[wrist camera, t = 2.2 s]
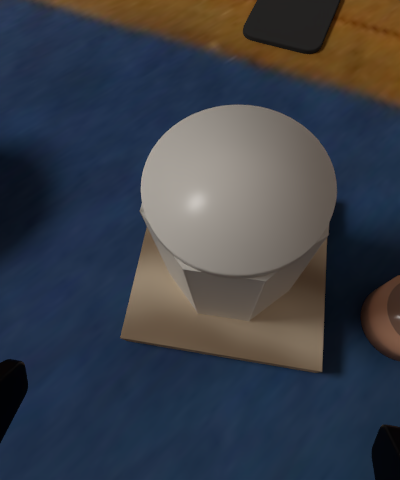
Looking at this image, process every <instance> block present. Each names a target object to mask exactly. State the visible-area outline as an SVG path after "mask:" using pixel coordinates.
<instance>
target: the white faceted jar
mask: <svg viewBox="0 0 400 480" xmlns="http://www.w3.org/2000/svg"><path fill="white" fill-rule="evenodd" d="M336 195H337V185H336V177H335V172H334V168H333V165H332V163H331V160H330V158H329V156H328V154H327V152H326V150H325V149H324V147H323V146H322V145H321V143H320V142H319V140H318V139H317V138H316V137H315V136H314V135H313V134H312V133H311V132H310V131H309V130H308V129H306V128H305V127H304V126H303V125H301V124H300V123H298V122H297V121H295V120H294V119H292V118H290V117H288V116H286V115H284V114H282V113H279V112H276V111H274V110H271V109H267V108H263V107H258V106H251V105H225V106H219V107H213V108H210V109H206V110H203V111H200V112H198V113H195V114H193V115H191V116H189V117H187V118H185V119H183V120H181V121H180V122H179V123H177V124H176V125H174V126H173V127H172V128H171V129H169V130H168V131H167V132H166V133H165V134H164V135H163V136H162V137H161V138H160V139H159V141H158V142H157V143H156V145H155V146H154V148H153V149H152V150H151V152H150V154H149V156H148V158H147V161H146V163H145V166H144V169H143V174H142V179H141V198H142V205H141V209H140V213H141V215H142V217H143V219H144V221H145V223H146V225H147V227H148V230H149V232H150V234H151V236H152V238H153V240H154V242H155V244H156V247H157V249H158V251H159V253H160V255H161V257H162V259H163V261H164V263H165V266H166V268H167V270H168V272H169V274H170V275H171V276H172V278H173V279H174V281H175V282H176V283H177V285H178V286H179V288H180V289H181V290H182V292H183V293H184V295H185V296H186V297H187V299H188V300H189V302H190V303H191V304H192V306H193V307H194V309H195V310H196V311H197V313H200V314H206V315H212V316H219V317H225V318H232V319H238V320H244V321H250V320H251V319H252V318H254V317H255V316H256V315H258V314H259V313H260V312H262V311H263V310H264V309H266V308H267V307H268V306H270V305H271V304H272V303H274V302H275V301H276V300H278V299H279V298H280V297H281V296H283V295H284V294H285V293H287V292H288V291H289V290H290V289H291V287H292V286H293V285H294V283H295V282H296V280H297V279H298V278H299V276H300V275H301V273H302V272H303V271H304V269H305V268H306V266H307V265H308V264H309V262H310V261H311V259H312V258H313V256H314V255H315V254H316V252H317V251H318V249H319V248H320V247H321V245H322V244H323V242H324V241H325V240H326V238H327V237H328V235H329V222H330V219H331V217H332V215H333V211H334V208H335V204H336Z"/></svg>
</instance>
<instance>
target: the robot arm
mask: <svg viewBox="0 0 400 480" xmlns="http://www.w3.org/2000/svg"><path fill="white" fill-rule="evenodd" d="M27 389H28V381H27V375H26V369H25V364H24V363H23V362H22V361H18V360H12V359H8V360H5V361H3V362H1V363H0V443H1V441H2V439H3V437H4V435H5V433H6V431H7V429H8V427H9V426H10V424H11V422H12V420H13V418H14V416H15V414H16V412H17V410H18V408H19V406H20V404H21V403H22V401H23V399H24V397H25V395H26V392H27ZM372 462H373V468H374V474H375V480H400V427H397V426H391V425H382V426H381V427H380V429H379V431H378V434H377V436H376V439H375V442H374V444H373V447H372Z"/></svg>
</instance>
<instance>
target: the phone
mask: <svg viewBox="0 0 400 480" xmlns="http://www.w3.org/2000/svg"><path fill="white" fill-rule="evenodd" d="M339 3H340V0H257V2H256V4H255V6H254V8H253V9H252V11H251V13H250V15H249V17H248V19H247V21H246V23H245V25H244V28H243V34H244V36H245V37H246V38H247V39H249V40H252V41H256V42H259V43H263V44H267V45H271V46H275V47H279V48H283V49H287V50H291V51H296V52H300V53H304V54H313V53H316V52H317V51H318V50H319V49H320V48H321V46H322V44H323V41H324V39H325V36H326V34H327V32H328V29H329V27H330V24H331V22H332V20H333V17H334V15H335V12H336V10H337V8H338V5H339Z"/></svg>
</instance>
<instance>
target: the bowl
mask: <svg viewBox="0 0 400 480" xmlns="http://www.w3.org/2000/svg"><path fill="white" fill-rule="evenodd" d="M361 324H362V328H363V331H364V333H365V335H366V337H367V339H368V340H369V342H370V343H371V344H372V345H373V346H374V348H376V349H377V350H378V351H379V352H380V353H382V354H383V355H385V356H387V357H389V358H391V359H393V360H397V361H400V275H398V276H397V277H395V278H393V279H392V280H390V281H388V282H387V283H385V284H384V285H382V286H380V287H379V288H377V289H376V290H374V291H373V292H371V293H370V294H369V295H368V296H367V298H366V299H365V301H364V303H363V305H362V308H361Z"/></svg>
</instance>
